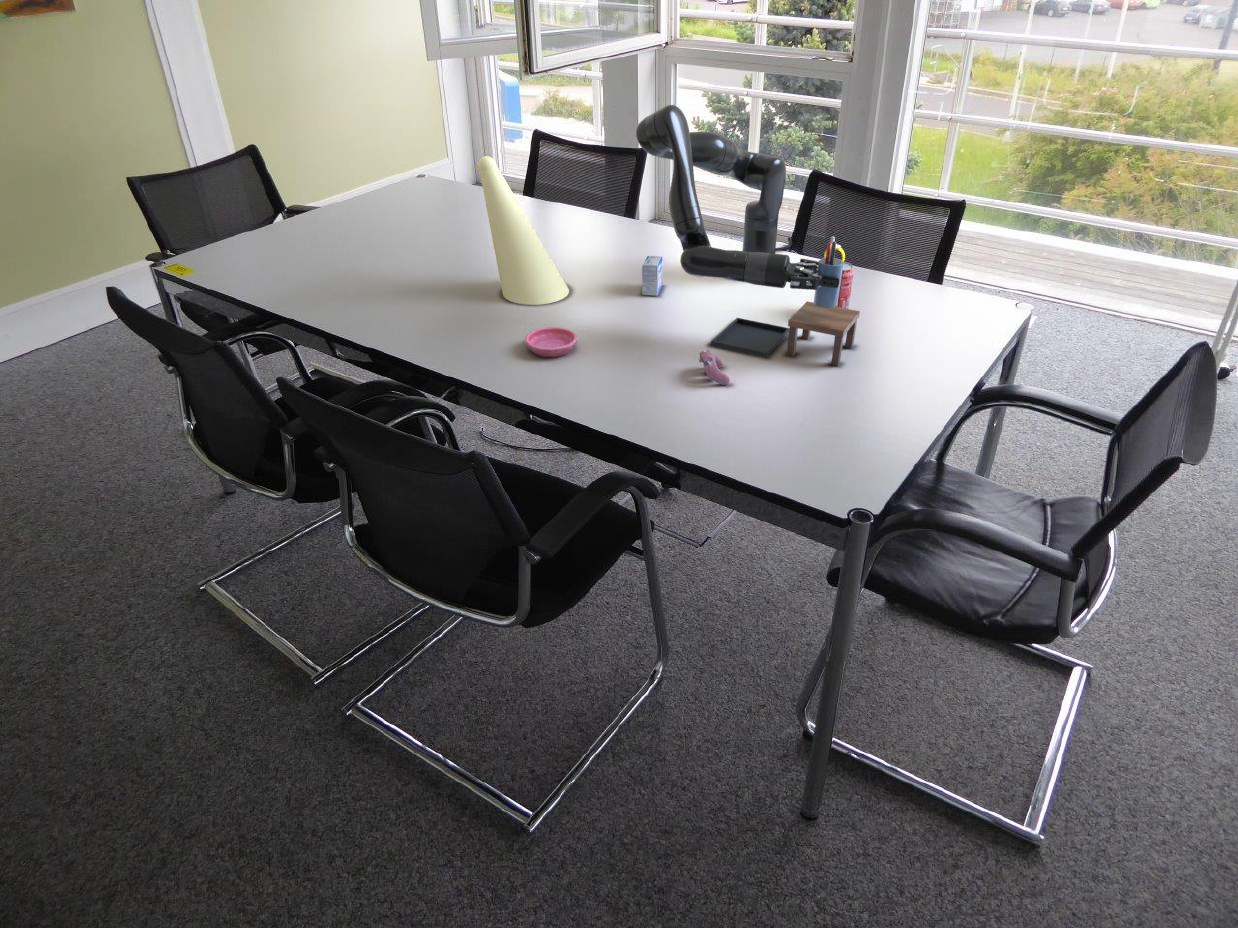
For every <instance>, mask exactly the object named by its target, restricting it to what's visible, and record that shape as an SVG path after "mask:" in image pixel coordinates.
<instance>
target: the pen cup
mask: <svg viewBox="0 0 1238 928" xmlns="http://www.w3.org/2000/svg"><path fill="white" fill-rule="evenodd" d="M835 239H836V237H835V236H834V235H832V236H830V241H828V242H827V243H826V244H827V245H826V250H827V251H826V250H825V251H826V258H824V257H823V258H820V259H819V260H818V261H819V265H818V269H817V270H818V273H817V274H818V275H821V276H822V278H823V276H829V277H838V278H839V279H840V281H839V286H838V288H832V287H824V286H821V287H817V289H816V290H814V296H813V303H814V304H815V305H816V306H819V307H823V308H833V307H836V306H837V304H838V297H839V290H840V283H841V277H842V270H843V261H842V259H840V258H836V251H837V250H836V244H837V241H836V240H835ZM837 245H838V244H837Z"/></svg>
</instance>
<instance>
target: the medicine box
mask: <svg viewBox="0 0 1238 928" xmlns="http://www.w3.org/2000/svg"><path fill="white" fill-rule="evenodd" d="M641 284H642V285H641V294H642V295H643V296H652V297H653V296H655V297H658V296H659V294H660V292H661V289H662V287H663V256H660V255H647V256H646V258H645V260H644V261H643V264H642V266H641Z"/></svg>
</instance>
